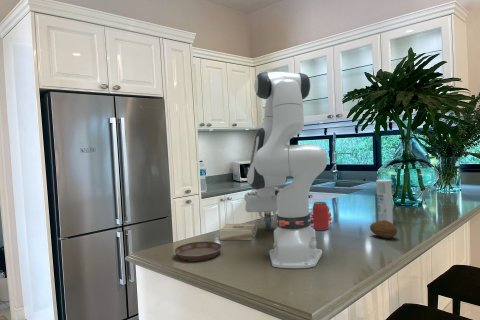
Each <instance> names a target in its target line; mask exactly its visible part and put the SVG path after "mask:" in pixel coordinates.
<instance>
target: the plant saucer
mask: <svg viewBox="0 0 480 320" xmlns="http://www.w3.org/2000/svg"><path fill="white" fill-rule="evenodd" d="M222 249H223V246H222V244H221V243H218V242H215V241H193V242H188V243H184V244H182V245H178V246H177V247H176V248H175V249H174V254H176V255H177V256H178V258H179V259H180V260H182V261H185V260H187V262H201V260H202V261H206V260H211V259H213V258H215V257H217V255H218V254H219V253H220V252H221V250H222ZM210 258H211V259H210Z"/></svg>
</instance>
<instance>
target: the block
mask: <svg viewBox="0 0 480 320" xmlns="http://www.w3.org/2000/svg"><path fill="white" fill-rule="evenodd" d="M257 232H258V226H257V223H256V222H246V223H245V222H244V223H241V222H240V223H234V222H233V223H226V224H225V225H224V226H223V227H222V228H221V229H220V230H219V233H218V234H219V241H252V240H253V239H254V238H255V236H256V234H257Z"/></svg>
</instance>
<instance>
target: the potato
mask: <svg viewBox="0 0 480 320" xmlns="http://www.w3.org/2000/svg"><path fill="white" fill-rule="evenodd" d="M369 229H370V231H371V232H372V233H373V234H374V235H376V236H378V237H380V238H384V239H391V238H394V237H395V236H396V235H397V234H398V230H397V229H398V228H397V227H396V225H394V223H393V224H392V223H391V222H389V221H386V220H382V221H379V222H378V221H376V222H373V223H371V225H370V226H369Z"/></svg>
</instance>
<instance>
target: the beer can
mask: <svg viewBox="0 0 480 320" xmlns="http://www.w3.org/2000/svg"><path fill="white" fill-rule="evenodd" d="M327 206H328V204H327V202H326V201H315V202H313V205H312V207H313V222H314V226H313V229H314V230H315V231H327V230H328V229H329V228H330V227H329V225H330V224H329V223H328V207H329V206H328V207H327Z"/></svg>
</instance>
